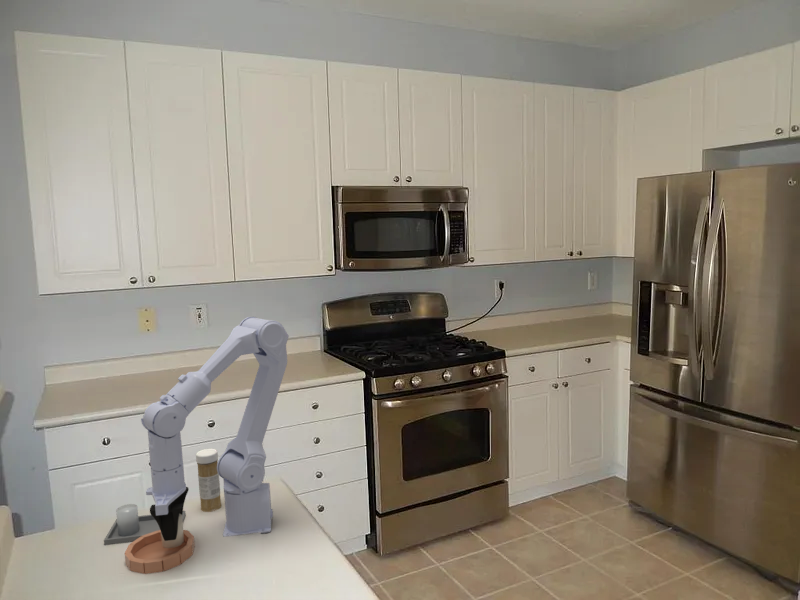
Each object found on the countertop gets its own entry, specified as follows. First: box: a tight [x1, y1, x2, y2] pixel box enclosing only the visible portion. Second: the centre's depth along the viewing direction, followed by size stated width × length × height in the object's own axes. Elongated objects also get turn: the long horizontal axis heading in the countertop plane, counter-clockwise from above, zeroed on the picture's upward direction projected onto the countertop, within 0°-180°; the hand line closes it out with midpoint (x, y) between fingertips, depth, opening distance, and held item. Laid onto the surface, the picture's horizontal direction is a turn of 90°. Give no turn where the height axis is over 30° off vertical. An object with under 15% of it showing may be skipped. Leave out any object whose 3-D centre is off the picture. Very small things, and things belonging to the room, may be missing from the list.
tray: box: [103, 510, 187, 546], centre depth 123 cm, size 14×9×2 cm, turn 101°
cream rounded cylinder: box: [161, 514, 184, 548], centre depth 113 cm, size 4×4×5 cm
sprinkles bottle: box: [195, 448, 223, 513], centre depth 131 cm, size 5×5×14 cm
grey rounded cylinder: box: [115, 503, 139, 536], centre depth 122 cm, size 4×4×5 cm
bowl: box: [124, 529, 196, 575], centre depth 113 cm, size 12×12×2 cm
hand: (172, 533), depth 113 cm, fingers closed on cream rounded cylinder, 4 cm apart
